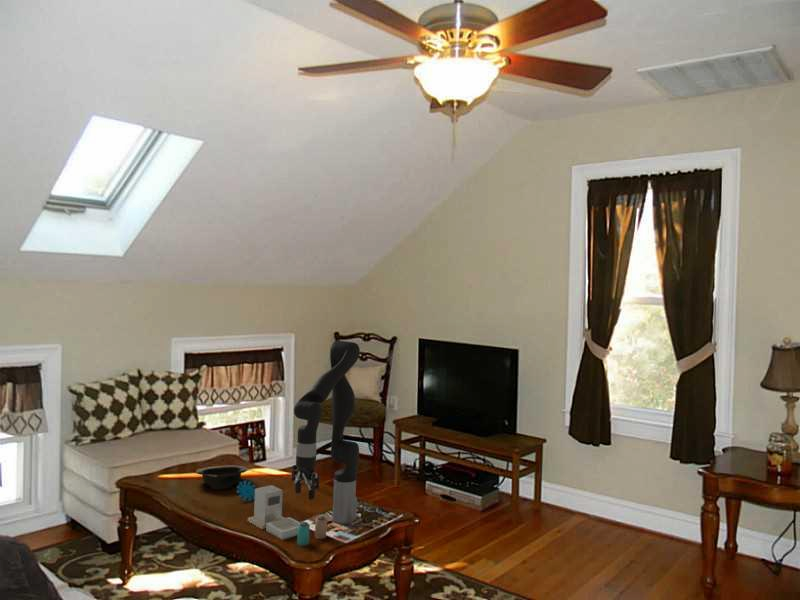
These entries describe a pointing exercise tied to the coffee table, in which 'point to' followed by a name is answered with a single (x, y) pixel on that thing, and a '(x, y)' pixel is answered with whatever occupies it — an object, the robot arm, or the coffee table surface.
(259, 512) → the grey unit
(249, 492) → the gear
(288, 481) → the coffee table surface
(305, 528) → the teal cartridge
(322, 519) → the beige cylinder
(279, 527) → the tray
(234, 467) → the stone bowl
